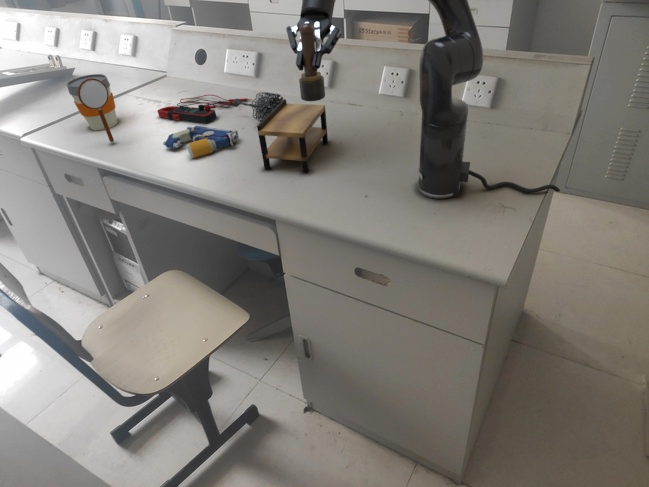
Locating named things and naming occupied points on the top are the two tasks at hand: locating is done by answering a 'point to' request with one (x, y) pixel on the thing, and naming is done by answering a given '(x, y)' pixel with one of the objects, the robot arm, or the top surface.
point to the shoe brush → (310, 68)
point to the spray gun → (201, 139)
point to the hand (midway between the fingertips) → (307, 68)
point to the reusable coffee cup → (93, 114)
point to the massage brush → (262, 104)
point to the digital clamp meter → (194, 111)
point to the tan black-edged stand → (292, 132)
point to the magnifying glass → (95, 99)
